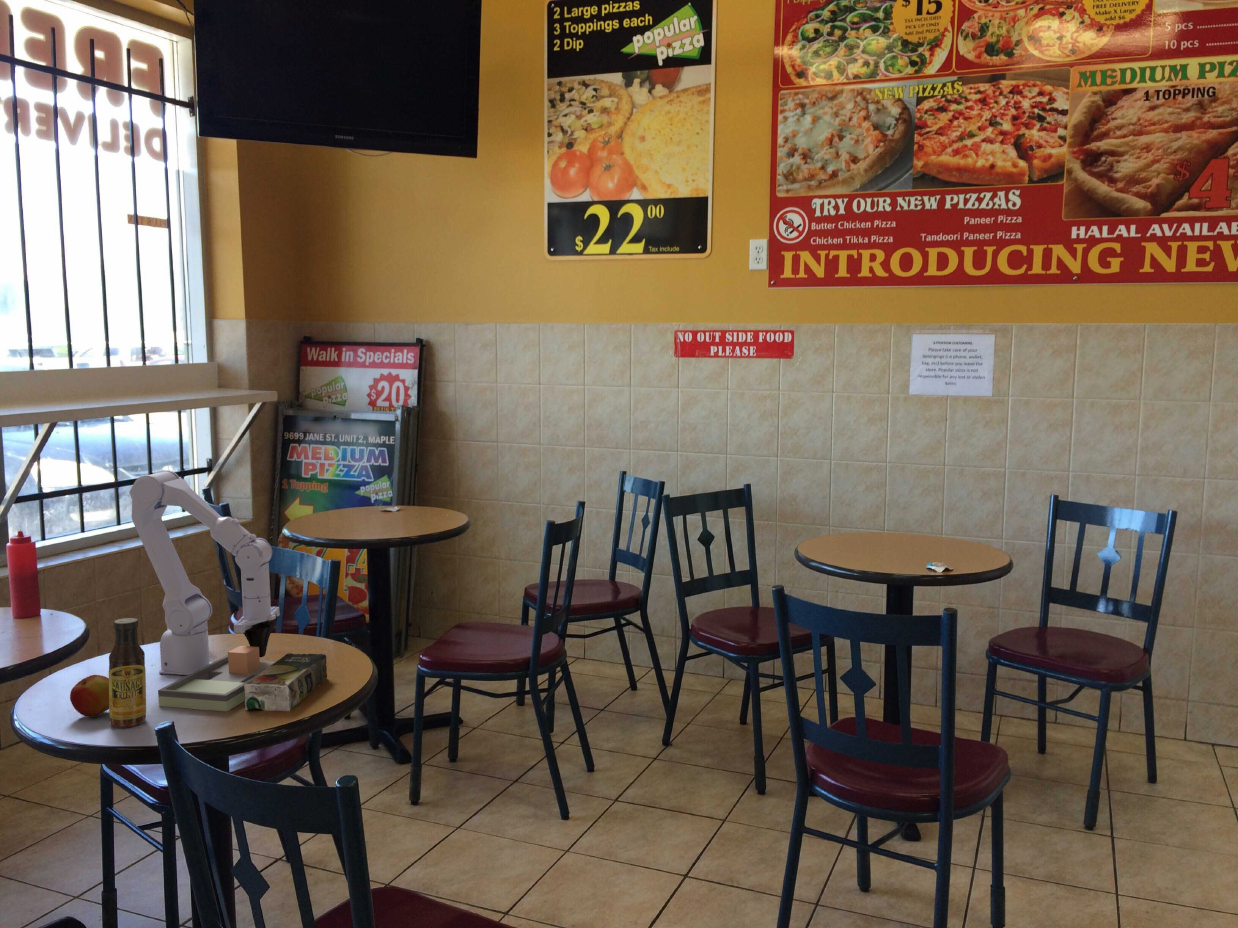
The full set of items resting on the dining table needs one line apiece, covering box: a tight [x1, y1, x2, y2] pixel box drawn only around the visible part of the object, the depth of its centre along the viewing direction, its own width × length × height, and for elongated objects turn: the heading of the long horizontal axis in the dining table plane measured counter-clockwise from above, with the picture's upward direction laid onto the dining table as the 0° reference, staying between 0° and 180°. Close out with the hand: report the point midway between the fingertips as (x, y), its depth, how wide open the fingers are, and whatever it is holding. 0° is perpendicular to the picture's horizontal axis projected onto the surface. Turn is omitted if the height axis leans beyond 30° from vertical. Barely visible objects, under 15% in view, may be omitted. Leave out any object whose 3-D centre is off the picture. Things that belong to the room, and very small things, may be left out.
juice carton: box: [244, 652, 328, 712], centre depth 201 cm, size 20×10×6 cm, turn 175°
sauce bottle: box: [108, 617, 147, 729], centre depth 185 cm, size 7×6×20 cm
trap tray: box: [157, 654, 276, 712], centre depth 205 cm, size 15×24×3 cm, turn 168°
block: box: [227, 645, 261, 674], centre depth 211 cm, size 4×4×4 cm
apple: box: [69, 674, 109, 718], centre depth 190 cm, size 8×8×8 cm
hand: (259, 656), depth 216 cm, fingers closed
